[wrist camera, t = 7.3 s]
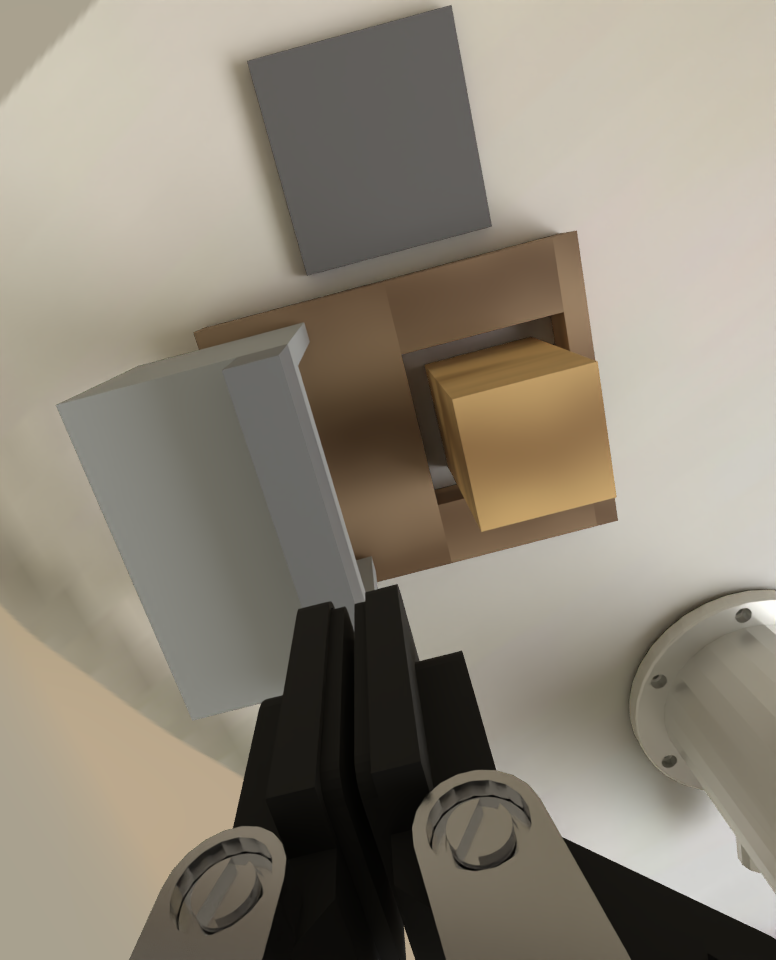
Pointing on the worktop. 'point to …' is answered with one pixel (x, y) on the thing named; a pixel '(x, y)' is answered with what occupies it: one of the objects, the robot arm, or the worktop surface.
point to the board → (388, 402)
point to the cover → (220, 509)
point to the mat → (374, 140)
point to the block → (523, 430)
